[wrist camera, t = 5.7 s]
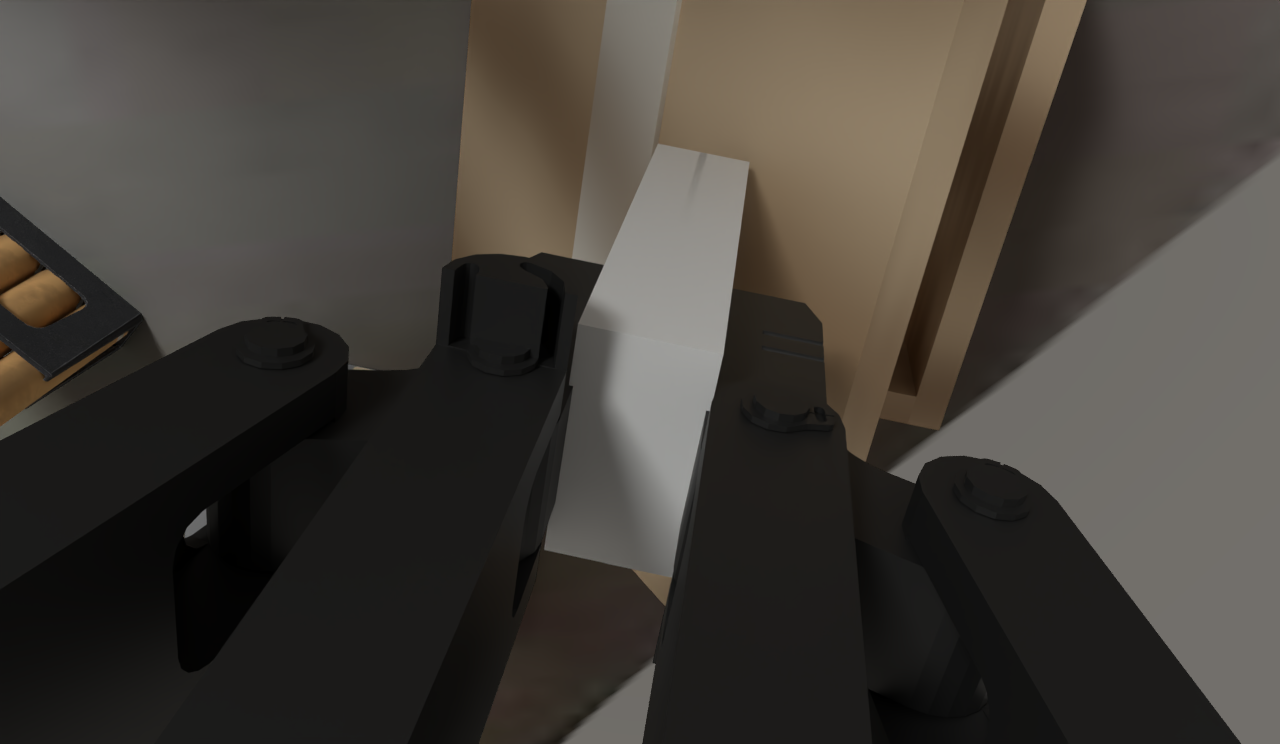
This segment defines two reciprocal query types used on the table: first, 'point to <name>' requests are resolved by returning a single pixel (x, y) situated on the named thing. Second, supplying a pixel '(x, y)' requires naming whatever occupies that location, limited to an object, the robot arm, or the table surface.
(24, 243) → the ammunition clip
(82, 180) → the table surface
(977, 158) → the crate
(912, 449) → the table surface
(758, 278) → the lid
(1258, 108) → the table surface
